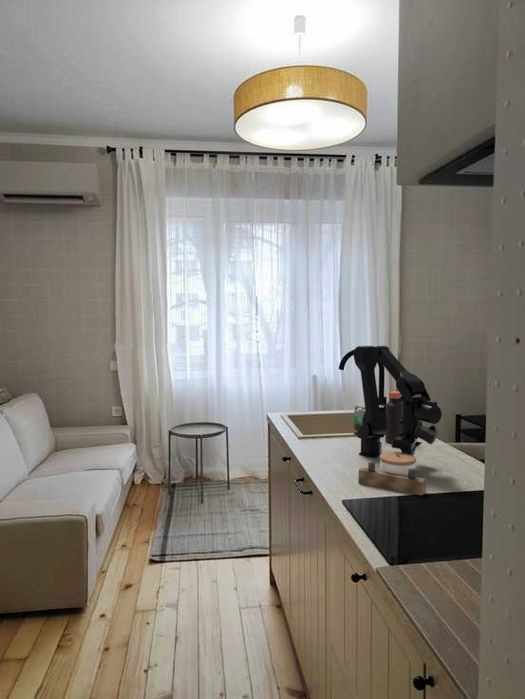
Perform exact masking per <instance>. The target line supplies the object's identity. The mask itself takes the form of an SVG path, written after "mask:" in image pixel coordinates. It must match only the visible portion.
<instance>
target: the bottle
mask: <svg viewBox="0 0 525 699" xmlns="http://www.w3.org/2000/svg"><path fill="white" fill-rule="evenodd" d="M401 396H402V395H401V394H400V392H399V391H398V390H394V391H393V390H392V391H391V390H390V391H388V399H389V401H388V402H386V404H385V414H386V416H387V423H388V425H387V430H386V432H385V435H384V442H385V443H387V444H391V445H392V441H393V440H394V439H395V438H397V437H402V436H399V433H400V432H401V424H400V420H402V402H398V401H397V400H398V399H399V398H400V397H401Z"/></svg>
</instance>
